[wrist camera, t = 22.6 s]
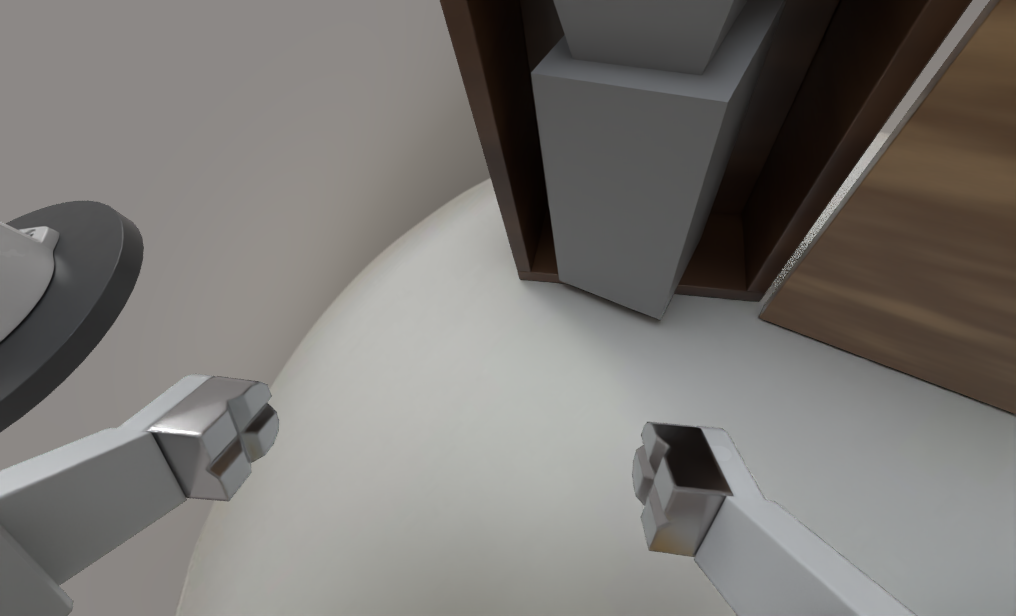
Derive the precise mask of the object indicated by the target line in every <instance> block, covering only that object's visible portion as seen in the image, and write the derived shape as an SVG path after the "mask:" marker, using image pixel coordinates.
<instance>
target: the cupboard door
mask: <svg viewBox="0 0 1016 616" xmlns="http://www.w3.org/2000/svg"><path fill="white" fill-rule="evenodd" d="M759 318H761V319H763V320H766V321H769V322H771V323H774V324H777V325H779V326H782V327H785V328H787V329H790V330H793V331H795V332H798V333H801V334H803V335H806V336H809V337H811V338H814V339H817V340H819V341H822V342H825V343H827V344H830V345H833V346H835V347H838V348H841V349H843V350H846V351H849V352H851V353H854V354H856V355H859V356H862V357H864V358H867V359H870V360H872V361H875V362H878V363H880V364H883V365H886V366H888V367H891V368H894V369H896V370H899V371H902V372H904V373H907V374H910V375H912V376H915V377H918V378H920V379H923V380H926V381H928V382H931V383H934V384H936V385H939V386H942V387H944V388H947V389H950V390H952V391H955V392H958V393H960V394H963V395H966V396H968V397H971V398H974V399H976V400H979V401H982V402H984V403H987V404H990V405H992V406H995V407H998V408H1000V409H1003V410H1006V411H1008V412H1011V413H1014V414H1016V0H990V1H989V2H988V4H987V5H986V6H985V8H984V9H983V11H982V12H981V13H980V15H979V16H978V17H977V19H976V20H975V21H974V23H973V24H972V25H971V27H970V28H969V29H968V31H967V32H966V33H965V35H964V36H963V38H962V39H961V40H960V42H959V43H958V44H957V46H956V47H955V49H954V50H953V51H952V52H951V54H950V55H949V56H948V58H947V59H946V60H945V62H944V63H943V65H942V66H941V67H940V69H939V70H938V71H937V73H936V74H935V75H934V77H933V78H932V79H931V81H930V82H929V84H928V85H927V86H926V88H925V89H924V90H923V92H922V93H921V94H920V96H919V97H918V98H917V100H916V101H915V102H914V104H913V105H912V106H911V108H910V109H909V110H908V112H907V113H906V115H905V116H904V117H903V119H902V120H901V121H900V123H899V124H898V125H897V127H896V128H895V129H894V131H893V132H892V133H891V135H890V136H889V137H888V139H887V140H886V141H885V143H884V144H883V145H882V147H881V148H880V150H879V151H878V152H877V154H876V155H875V156H874V158H873V159H872V160H871V162H870V163H869V164H868V166H867V167H866V168H865V170H864V171H863V172H862V174H861V175H860V177H859V178H858V179H857V181H856V182H855V183H854V185H853V186H852V187H851V189H850V190H849V191H848V193H847V194H846V195H845V197H844V198H843V199H842V201H841V202H840V204H839V205H838V206H837V208H836V209H835V210H834V212H833V213H832V214H831V216H830V217H829V218H828V220H827V221H826V222H825V224H824V225H823V227H822V228H821V229H820V231H819V232H818V233H817V235H816V236H815V237H814V239H813V240H812V241H811V243H810V244H809V245H808V247H807V248H806V249H805V251H804V252H803V254H802V255H801V256H800V258H799V259H798V260H797V262H796V263H795V264H794V266H793V267H792V268H791V270H790V271H789V272H788V274H787V275H786V276H785V278H784V279H783V281H782V282H781V283H780V285H779V286H778V287H777V289H776V290H775V291H774V293H773V294H772V295H771V297H770V298H769V299H768V301H767V302H766V303H765V305H764V307H763V309H762V312H761V314H760V316H759Z"/></svg>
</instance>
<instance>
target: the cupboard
mask: <svg viewBox="0 0 1016 616" xmlns="http://www.w3.org/2000/svg"><path fill="white" fill-rule="evenodd" d="M971 2H972V0H786V3H785V5H784V8H783V11H782V14H781V16H780V19H779V22H778V25H777V28H776V30H775V33H774V36H773V39H772V41H771V44H770V47H769V50H768V53H767V55H766V58H765V61H764V64H763V67H762V69H761V72H760V75H759V78H758V80H757V83H756V86H755V89H754V92H753V94H752V97H751V100H750V103H749V105H748V108H747V111H746V114H745V117H744V119H743V122H742V125H741V128H740V131H739V133H738V136H737V139H736V142H735V144H734V147H733V150H732V153H731V156H730V158H729V161H728V164H727V167H726V169H725V172H724V175H723V178H722V181H721V183H720V186H719V189H718V192H717V195H716V197H715V200H714V203H713V206H712V208H711V211H710V214H709V217H708V220H707V222H706V225H705V228H704V231H703V234H702V236H701V239H700V241H699V243H698V245H697V247H696V249H695V251H694V253H693V255H692V257H691V259H690V261H689V263H688V265H687V267H686V269H685V271H684V273H683V276H682V278H681V280H680V282H679V284H678V286H677V288H676V290H675V292H674V294H683V295H694V296H704V297H715V298H726V299H736V300H747V301H758V302H759V301H760V300H761V299H762V297H763V296H764V294H765V292H766V291H767V290H768V288H769V287H770V286H771V284H772V283H773V281H774V280H775V279H776V277H777V276H778V274H779V273H780V272H781V270H782V269H783V267H784V266H785V264H786V263H787V262H788V260H789V259H790V257H791V256H792V255H793V253H794V252H795V250H796V249H797V247H798V246H799V245H800V243H801V242H802V240H803V239H804V238H805V236H806V235H807V233H808V232H809V231H810V229H811V228H812V226H813V225H814V223H815V222H816V221H817V219H818V218H819V216H820V215H821V214H822V212H823V211H824V209H825V208H826V207H827V205H828V204H829V202H830V201H831V199H832V198H833V197H834V195H835V194H836V192H837V191H838V190H839V188H840V187H841V185H842V184H843V182H844V181H845V180H846V178H847V177H848V175H849V174H850V173H851V171H852V170H853V168H854V167H855V166H856V164H857V163H858V161H859V160H860V158H861V157H862V156H863V154H864V153H865V151H866V150H867V149H868V147H869V146H870V144H871V143H872V142H873V140H874V139H875V137H876V136H877V134H878V133H879V132H880V130H881V129H882V127H883V126H884V124H885V123H886V122H887V120H888V119H889V117H890V116H891V114H892V113H893V112H894V110H895V109H896V108H897V106H898V105H899V103H900V102H901V101H902V99H903V98H904V96H905V95H906V93H907V92H908V90H909V89H910V88H911V86H912V85H913V84H914V82H915V81H916V79H917V78H918V77H919V75H920V74H921V72H922V71H923V69H924V68H925V67H926V65H927V64H928V62H929V61H930V60H931V58H932V57H933V55H934V54H935V52H936V51H937V50H938V48H939V47H940V45H941V44H942V42H943V41H944V40H945V38H946V37H947V36H948V34H949V33H950V31H951V30H952V28H953V27H954V26H955V24H956V23H957V21H958V20H959V18H960V17H961V16H962V14H963V13H964V12H965V10H966V9H967V7H968V6H969V4H970V3H971ZM440 3H441V6H442V10H443V13H444V17H445V20H446V24H447V27H448V31H449V34H450V37H451V41H452V44H453V48H454V51H455V55H456V58H457V62H458V65H459V69H460V72H461V76H462V79H463V83H464V86H465V90H466V93H467V97H468V100H469V104H470V107H471V111H472V114H473V118H474V121H475V124H476V128H477V132H478V135H479V138H480V142H481V145H482V148H483V152H484V156H485V159H486V163H487V166H488V170H489V173H490V177H491V180H492V184H493V187H494V191H495V194H496V198H497V201H498V205H499V208H500V212H501V215H502V218H503V222H504V225H505V229H506V232H507V236H508V239H509V243H510V246H511V250H512V253H513V257H514V260H515V264H516V267H517V270H518V275H519V278H520V279H523V280H533V281H544V282H555V283H565V282H562V281H560V280H559V275H558V267H557V260H556V253H555V245H554V238H553V231H552V224H551V216H550V209H549V202H548V194H547V187H546V180H545V172H544V165H543V158H542V151H541V143H540V136H539V129H538V121H537V114H536V107H535V99H534V92H533V85H532V77H531V72H532V71H533V70H534V69H535V68H536V67H537V65H538V64H539V63H540V62H541V61H542V60H543V59H544V57H545V56H546V55H547V54H548V53H549V52H550V51H551V50H552V48H553V47H554V46H555V45H556V44H557V43H558V42H559V40H560V39H561V38H562V37H563V36H564V35H565V34H564V31H563V28H562V25H561V22H560V19H559V16H558V13H557V10H556V7H555V4H554V1H553V0H440ZM565 284H567V283H565Z"/></svg>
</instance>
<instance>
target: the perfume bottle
mask: <svg viewBox="0 0 1016 616" xmlns="http://www.w3.org/2000/svg"><path fill="white" fill-rule="evenodd" d="M553 1H554V4H555V7H556V10H557V13H558V16H559V19H560V22H561V25H562V28H563V31H564V34H565V35H564V36H563V37H562V38H561V39H560V40H559V42H558V43H557V44H556V45H555V46H554V47H553V48H552V50H551V51H550V52H549V53H548V54H547V55H546V56H545V57H544V59H543V60H542V61H541V62H540V63H539V64H538V65H537V67H536V68H535V69H534V70H533V71H532V72H531V77H532V85H533V92H534V99H535V107H536V114H537V121H538V129H539V136H540V143H541V151H542V158H543V165H544V172H545V180H546V187H547V194H548V202H549V209H550V216H551V224H552V231H553V238H554V245H555V253H556V260H557V267H558V275H559V280H560V281H562V282H565V283H567V284H570V285H572V286H575V287H578V288H580V289H583V290H585V291H588V292H590V293H593V294H595V295H598V296H600V297H603V298H606V299H608V300H611V301H613V302H616V303H618V304H621V305H623V306H626V307H628V308H631V309H633V310H636V311H639V312H641V313H644V314H646V315H649V316H651V317H654V318H656V319H659V320H661V318H662V316H663V314H664V312H665V310H666V308H667V306H668V304H669V302H670V300H671V298H672V296H673V294H674V292H675V290H676V288H677V286H678V284H679V282H680V280H681V278H682V276H683V273H684V271H685V269H686V267H687V265H688V263H689V261H690V259H691V257H692V255H693V253H694V251H695V249H696V247H697V245H698V243H699V241H700V239H701V236H702V234H703V231H704V228H705V225H706V222H707V220H708V217H709V214H710V211H711V208H712V206H713V203H714V200H715V197H716V195H717V192H718V189H719V186H720V183H721V181H722V178H723V175H724V172H725V169H726V167H727V164H728V161H729V158H730V156H731V153H732V150H733V147H734V144H735V142H736V139H737V136H738V133H739V131H740V128H741V125H742V122H743V119H744V117H745V114H746V111H747V108H748V105H749V103H750V100H751V97H752V94H753V92H754V89H755V86H756V83H757V80H758V78H759V75H760V72H761V69H762V67H763V64H764V61H765V58H766V55H767V53H768V50H769V47H770V44H771V41H772V39H773V36H774V33H775V30H776V28H777V25H778V22H779V19H780V16H781V14H782V11H783V8H784V5H785V3H786V0H553Z"/></svg>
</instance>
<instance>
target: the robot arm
mask: <svg viewBox="0 0 1016 616" xmlns="http://www.w3.org/2000/svg"><path fill="white" fill-rule="evenodd" d="M59 236H60V233H59V232H58V231H55V230H53V229H51V228H49V227H46V226H42V227H35V228H27V229H20V230H17V229H15V228H13V227H11V226H9V225H7V224H5V223H3V222H1V221H0V342H1V341H2V340H3V339H4V338H5V337H6V336H7V335H9V334H10V333H11V332H12V331H13V330H14V329H15V328H16V327H17V326H18V325H19V324H20V323H21V322H22V321H23V319H24V318H25V317H26V316H27V315H28V314H29V313H30V311H31V310H32V309H33V308H34V306H35V305H36V304H37V302H38V301H39V300H40V298H41V297H42V295H43V294H44V292H45V290H46V288H47V287H48V285H49V282H50V280H51V278H52V275H53V271H54V258H53V250H54V248H55V246H56V244H57V242H58V239H59ZM271 397H272V395H271V392H270V390H269V387H268V384H265V383H263V382H259V381H251V380H244V379H236V378H228V377H221V376H217V377H215V376H208V375H201V374H192V375H189V376H186V377H184V378H182V379H181V380H180V381H179V382H177V383H176V384H175V385H173V386H172V387H171V388H169V389H168V390H167V391H165V392H164V393H163V394H162V395H160V396H159V397H158V398H156V399H155V400H154V401H152V402H151V403H150V404H148V405H147V406H146V407H144V408H143V409H142V410H141V411H139V412H138V413H137V414H135V415H134V416H133V417H131V418H130V419H129V420H127V421H126V422H125V423H123V424H122V425H121V426H120V427H118V428H108V429H105V430H102V431H100V432H97V433H95V434H92V435H90V436H87V437H85V438H82V439H80V440H77V441H75V442H72V443H69V444H67V445H65V446H62V447H59V448H57V449H54V450H52V451H49V452H47V453H44V454H41V455H39V456H36V457H34V458H32V459H29V460H26V461H24V462H21V463H19V464H16V465H14V466H11V467H9V468H6V469H4V470H1V471H0V616H67V615H68V614H69V613H70V612H71V611H72V608H73V600H72V599H71V598H70V597H69V596H68V595H67V594H66V593H65V592H64V591H63V590H62V589H61V588H60V587H59V585H61V584H62V583H64V582H65V581H67V580H68V579H70V578H71V577H73V576H74V575H76V574H77V573H79V572H80V571H82V570H83V569H84V568H86V567H88V566H89V565H91V564H92V563H94V562H95V561H97V560H98V559H100V558H101V557H103V556H104V555H106V554H107V553H109V552H110V551H112V550H113V549H115V548H116V547H117V546H119V545H121V544H122V543H124V542H125V541H127V540H128V539H130V538H131V537H133V536H134V535H136V534H137V533H139V532H140V531H142V530H143V529H144V528H146V527H147V526H149V525H150V524H152V523H153V522H155V521H156V520H158V519H160V518H161V517H163V516H164V515H165V514H167V513H168V512H170V511H171V510H173V509H174V508H176V507H177V506H179V505H180V504H182V503H183V502H185V501H186V500H187V499H186V498H196V499H207V500H218V501H230V499H231V498H232V497H233V495H234V494H235V493H236V492H237V490H238V489H239V488H240V487H241V485H242V484H243V483H244V482H245V480H246V479H247V478H248V476H249V475H250V474H251V463H252V462H254V461H256V460H258V459H259V458H261V457H263V456H265V455H266V453H267V452H268V451H269V449H270V448H271V447H272V445H273V444H274V442H275V439H276V436H277V434H278V431H279V418H278V415H277V412H276V411H275V410H274V409H273V408H272V407H271V406H270V405H269V404H268V401H269V400H270V398H271ZM641 437H642V440H643V444H644V445H643V446H641V447H640V448H638V449H637V450H636V452H635V456H634V460H633V471H632V477H633V486H634V490H635V495H636V497H637V498H638V499H639V500H640V501H641V503H642V504H643V505H644V509H643V512H642V515H641V520H642V524H643V528H644V533H645V537H646V541H647V545H648V549H649V551H655V552H662V553H669V554H676V555H683V556H690V557H695V558H694V561H695V562H696V563H697V564H698V566H699V567H700V568H701V570H702V571H703V572H704V573H705V575H706V576H707V577H708V579H709V580H710V581H711V582H712V584H713V585H714V586H715V588H716V589H717V590H718V591H719V593H720V594H721V595H722V597H723V598H724V599H725V600H726V602H727V603H728V604H729V606H730V607H731V608H732V609H733V611H734V612H735V613H736V615H737V616H917V615H916V614H914V613H913V612H912V611H911V610H909V609H908V608H907V607H906V606H904V605H903V604H902V603H901V602H899V601H898V600H897V599H896V598H894V597H893V596H892V595H891V594H889V593H888V592H887V591H886V590H884V589H883V588H882V587H881V586H880V585H878V584H877V583H876V582H875V581H873V580H872V579H871V578H870V577H868V576H867V575H866V574H865V573H863V572H862V571H861V570H860V569H858V568H857V567H856V566H855V565H853V564H852V563H851V562H850V561H848V560H847V559H846V558H845V557H843V556H842V555H841V554H840V553H838V552H837V551H836V550H835V549H833V548H832V547H831V546H830V545H828V544H827V543H826V542H825V541H823V540H822V539H821V538H820V537H818V536H817V535H816V534H815V533H813V532H812V531H811V530H810V529H808V528H807V527H806V526H805V525H803V524H802V523H801V522H800V521H798V520H797V519H796V518H795V517H793V516H792V515H791V514H790V513H788V512H787V511H786V510H785V509H783V508H782V507H781V506H780V505H778V504H777V503H776V502H775V501H769V500H766V499H765V498H764V496H763V494H762V492H761V490H760V489H759V487H758V485H757V483H756V482H755V480H754V478H753V476H752V475H751V473H750V471H749V469H748V468H747V466H746V464H745V462H744V460H743V459H742V457H741V455H740V453H739V452H738V450H737V448H736V446H735V445H734V443H733V441H732V439H731V438H730V436H729V434H728V433H727V432H726V431H725V430H724V429H723V428H713V427H702V426H696V427H695V426H689V425H678V424H668V423H657V422H647V423H646V424H645V425H644V427H643V430H642V433H641Z"/></svg>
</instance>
